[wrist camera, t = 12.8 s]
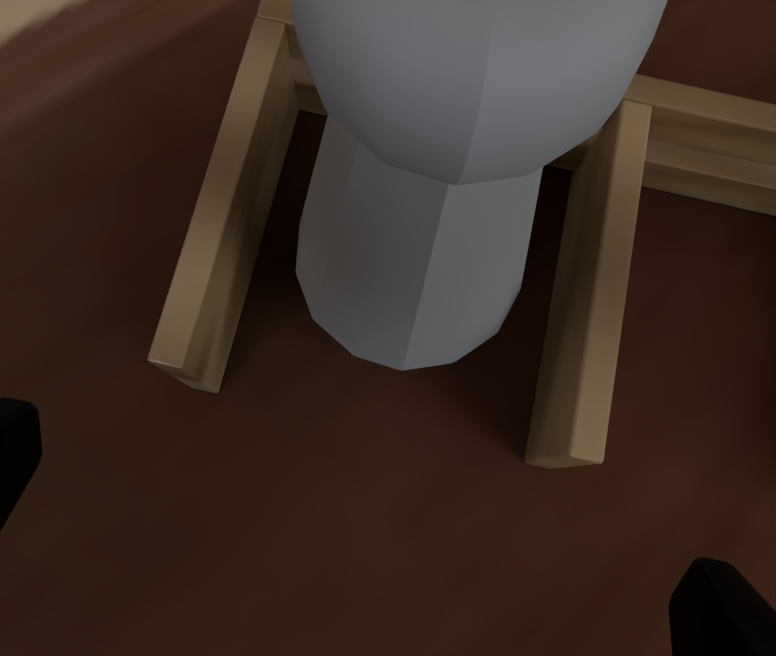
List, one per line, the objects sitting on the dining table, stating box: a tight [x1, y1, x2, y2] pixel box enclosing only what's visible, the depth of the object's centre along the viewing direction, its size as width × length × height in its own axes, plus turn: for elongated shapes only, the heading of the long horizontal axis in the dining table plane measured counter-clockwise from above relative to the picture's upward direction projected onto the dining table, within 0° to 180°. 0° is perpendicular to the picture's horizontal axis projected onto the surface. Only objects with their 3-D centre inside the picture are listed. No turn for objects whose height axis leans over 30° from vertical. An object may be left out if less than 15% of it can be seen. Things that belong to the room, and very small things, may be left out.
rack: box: [148, 0, 776, 469], centre depth 17 cm, size 10×20×4 cm, turn 78°
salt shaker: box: [291, 0, 667, 371], centre depth 13 cm, size 6×6×13 cm
